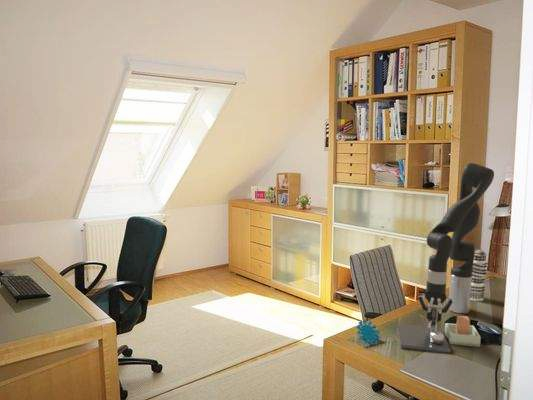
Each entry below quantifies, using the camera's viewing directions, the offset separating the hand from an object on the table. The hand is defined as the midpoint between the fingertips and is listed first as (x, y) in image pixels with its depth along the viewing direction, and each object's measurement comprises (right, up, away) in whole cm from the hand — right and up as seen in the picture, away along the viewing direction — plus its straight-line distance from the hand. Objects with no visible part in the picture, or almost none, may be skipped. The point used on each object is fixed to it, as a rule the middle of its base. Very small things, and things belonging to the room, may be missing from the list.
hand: (433, 320), depth 183 cm
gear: (-29, -6, -8) cm, 31 cm away
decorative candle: (+38, -1, +43) cm, 57 cm away
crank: (-2, -4, -6) cm, 8 cm away
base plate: (-7, -6, -6) cm, 11 cm away
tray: (+9, -6, -6) cm, 12 cm away
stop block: (+9, -5, -6) cm, 12 cm away
